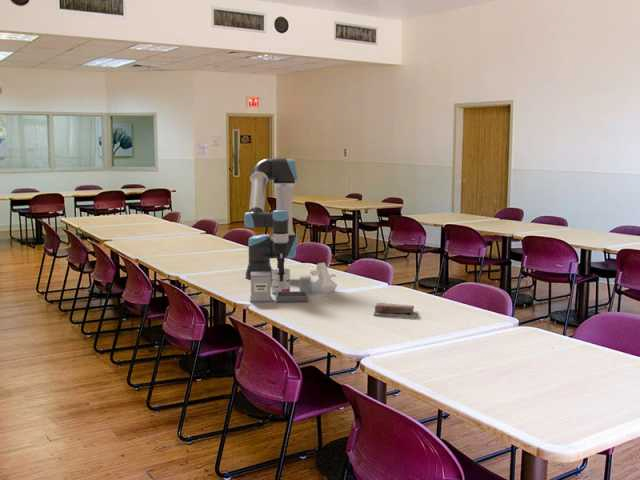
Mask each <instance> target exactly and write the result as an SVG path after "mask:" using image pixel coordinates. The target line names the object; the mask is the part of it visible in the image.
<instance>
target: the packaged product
mask: <svg viewBox="0 0 640 480" xmlns="http://www.w3.org/2000/svg"><path fill="white" fill-rule="evenodd" d="M414 309H415V307H414V305H411V304H398V303H397V304H396V303H385V302H377V304H375V306H374V313H373V317H382V316H384V317H383V318H396V317H403V318H402V319H412V318H416V319H417V317H418V315H419V311H414ZM416 316H417V317H416Z"/></svg>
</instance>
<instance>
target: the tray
mask: <svg viewBox="0 0 640 480" xmlns="http://www.w3.org/2000/svg"><path fill="white" fill-rule="evenodd" d="M308 294H309V293H307V292H306V291H300V290H299V291H293V290H292V291H290V292H276V294H275V300H276V303H308V302H309V295H308Z"/></svg>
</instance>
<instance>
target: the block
mask: <svg viewBox="0 0 640 480" xmlns="http://www.w3.org/2000/svg"><path fill="white" fill-rule="evenodd" d="M311 276H312V275H310V274H300V275H299V291H306V292H307V294H311V292H312V283H311V282H312V277H311Z"/></svg>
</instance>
